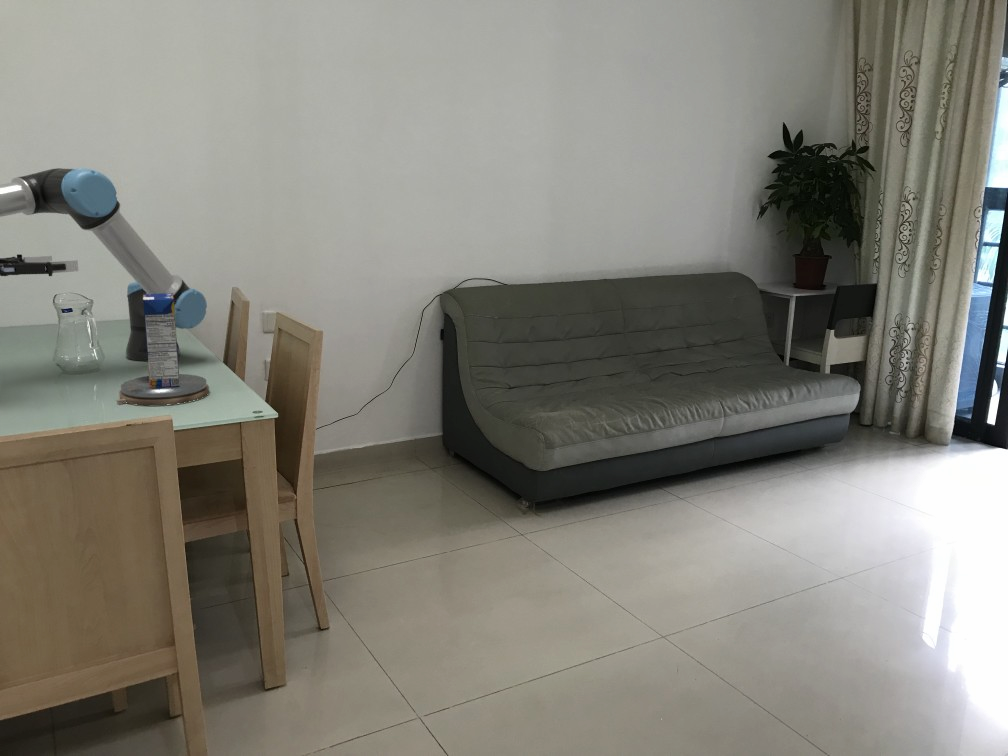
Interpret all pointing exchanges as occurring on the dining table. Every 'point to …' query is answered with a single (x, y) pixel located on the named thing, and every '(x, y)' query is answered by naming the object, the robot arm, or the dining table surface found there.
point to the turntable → (142, 388)
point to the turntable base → (162, 401)
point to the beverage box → (161, 340)
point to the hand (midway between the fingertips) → (64, 263)
